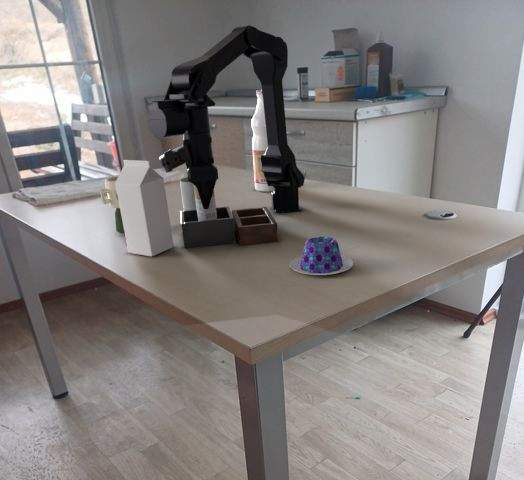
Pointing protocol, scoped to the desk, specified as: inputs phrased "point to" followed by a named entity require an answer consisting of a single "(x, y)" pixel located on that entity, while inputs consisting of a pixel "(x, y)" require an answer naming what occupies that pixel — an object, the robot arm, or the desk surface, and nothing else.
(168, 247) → the milk carton
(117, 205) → the character mug
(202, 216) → the sprinkles bottle
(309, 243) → the purple bucket hat
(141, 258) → the desk surface
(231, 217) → the dark grey open box
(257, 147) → the fruit juice
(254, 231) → the rack
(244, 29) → the robot arm
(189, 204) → the cup
